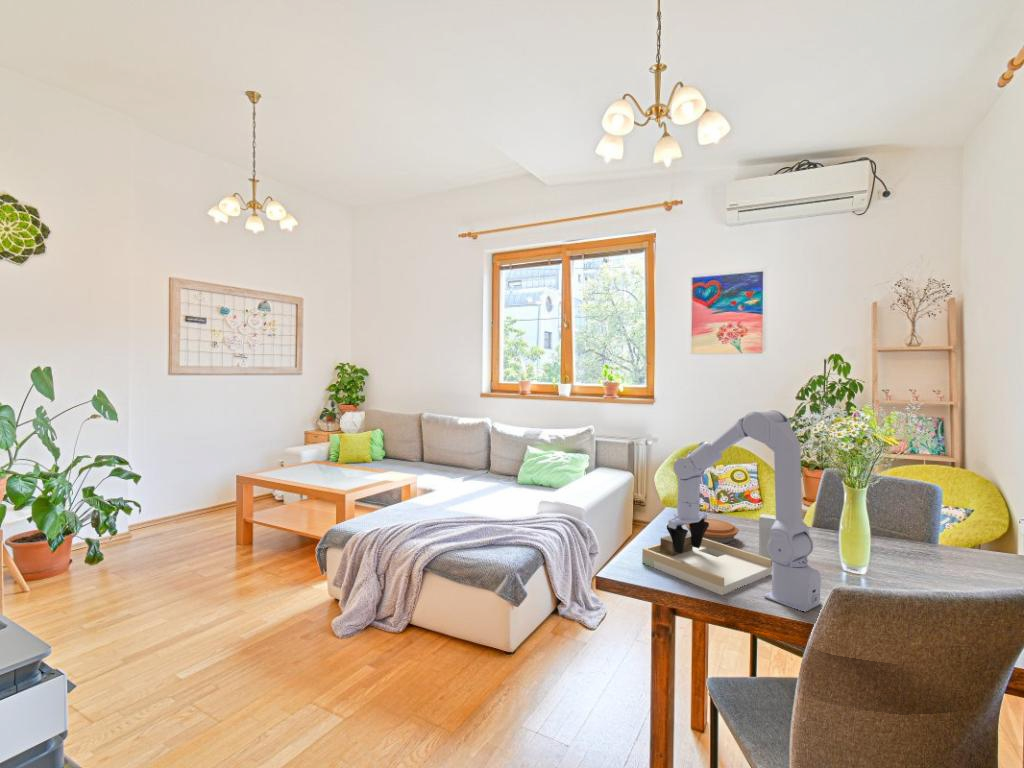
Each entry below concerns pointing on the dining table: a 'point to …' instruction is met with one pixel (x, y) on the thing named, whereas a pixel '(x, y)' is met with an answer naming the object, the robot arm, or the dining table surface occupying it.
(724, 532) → the pie
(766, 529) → the skincare box
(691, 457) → the robot arm
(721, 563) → the shallow cream tray
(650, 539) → the dining table surface
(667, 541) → the walnut block
